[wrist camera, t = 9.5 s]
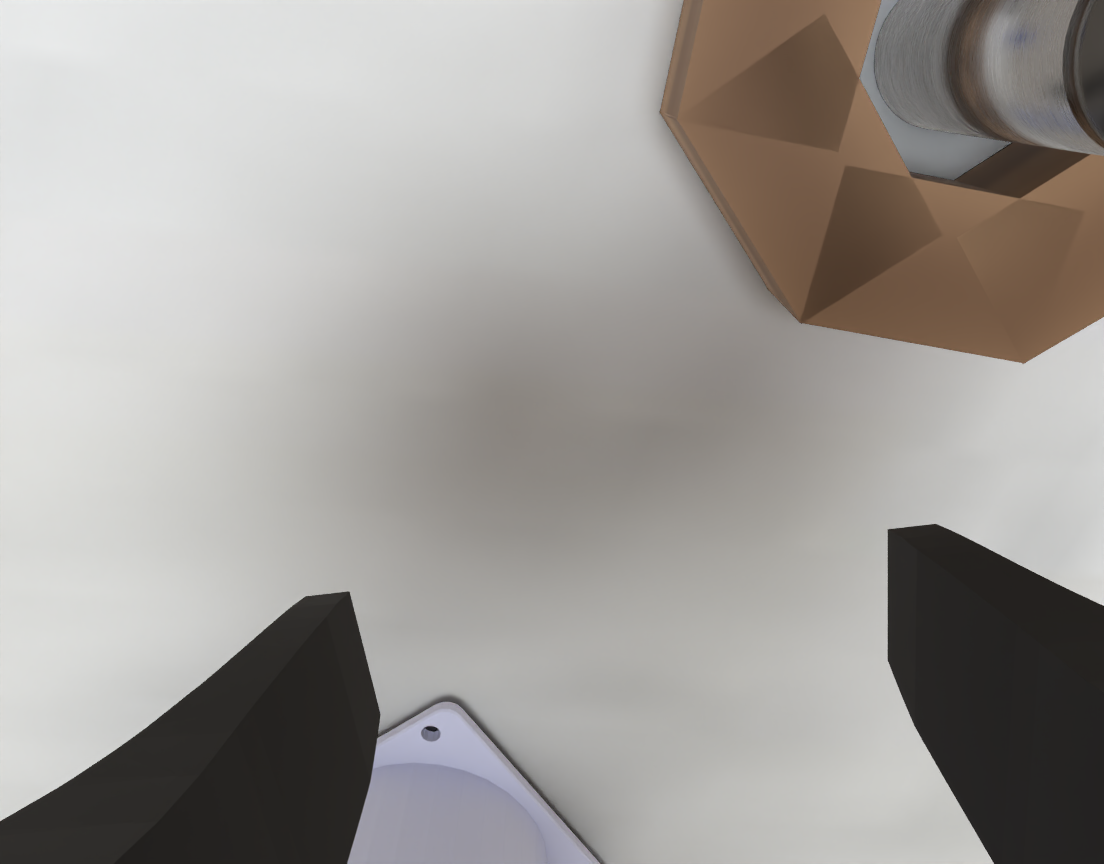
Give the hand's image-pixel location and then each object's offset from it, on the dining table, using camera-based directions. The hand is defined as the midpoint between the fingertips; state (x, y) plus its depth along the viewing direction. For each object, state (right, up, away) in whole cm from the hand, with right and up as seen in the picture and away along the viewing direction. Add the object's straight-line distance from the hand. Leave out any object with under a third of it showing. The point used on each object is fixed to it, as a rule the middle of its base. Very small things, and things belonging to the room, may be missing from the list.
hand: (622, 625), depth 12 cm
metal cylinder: (+7, +10, +7) cm, 14 cm away
